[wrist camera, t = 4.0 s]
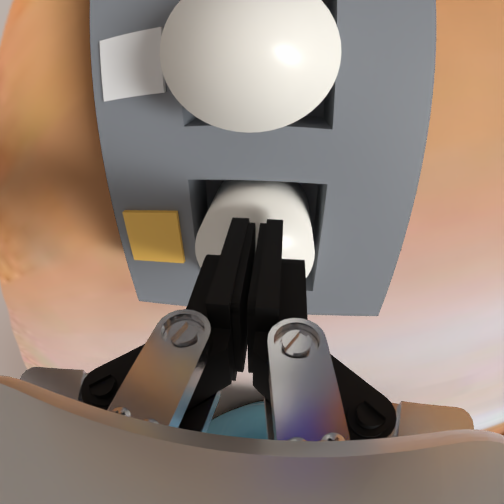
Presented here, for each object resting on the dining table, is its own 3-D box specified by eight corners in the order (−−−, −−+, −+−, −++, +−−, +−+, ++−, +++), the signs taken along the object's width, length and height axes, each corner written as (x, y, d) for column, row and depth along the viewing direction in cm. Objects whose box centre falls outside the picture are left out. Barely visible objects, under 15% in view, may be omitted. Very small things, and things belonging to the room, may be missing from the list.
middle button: (323, 1, 7) (341, -25, 4) (320, 115, 10) (336, 137, 7) (195, 2, 8) (158, -19, 5) (198, 113, 10) (165, 134, 7)
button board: (385, -104, 4) (411, -137, 1) (363, 266, 17) (378, 318, 14) (143, -101, 5) (106, -129, 2) (163, 255, 18) (137, 303, 15)
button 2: (312, 168, 13) (321, 204, 10) (304, 252, 15) (307, 302, 12) (211, 165, 13) (188, 198, 10) (216, 248, 15) (201, 295, 13)
